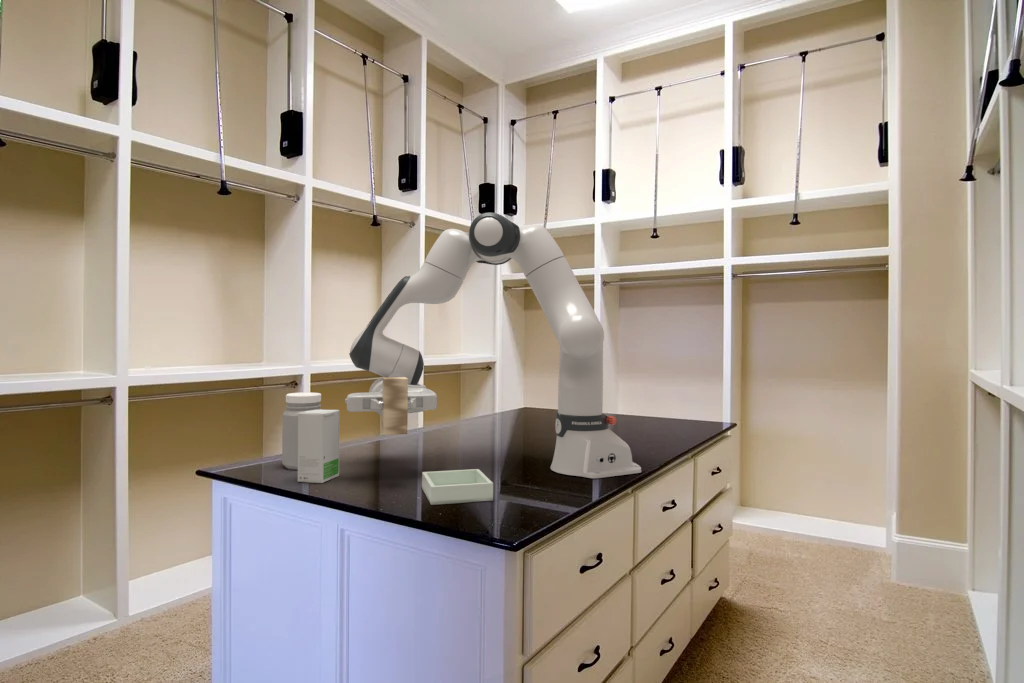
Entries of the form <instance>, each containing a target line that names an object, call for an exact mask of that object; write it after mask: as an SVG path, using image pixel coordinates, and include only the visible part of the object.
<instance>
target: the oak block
mask: <svg viewBox="0 0 1024 683" xmlns="http://www.w3.org/2000/svg"><path fill="white" fill-rule="evenodd" d="M382 377H383V376H382ZM382 401H383V402H384V405H383V407H384V409H383V410H382V416H381V418H382V419H381V422H382V423H381V431H382V434H383V436H389V435H390V436H392V435H393V436H394V435H395V436H396V435H397V436H398V435H408V421H409V420H408V415H409V413H408V379H407V378H406V377H383V389H382Z"/></svg>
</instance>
